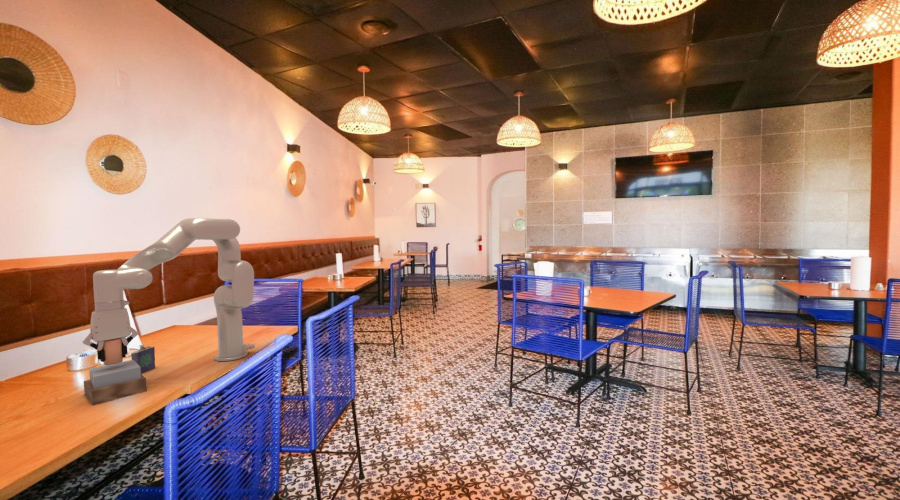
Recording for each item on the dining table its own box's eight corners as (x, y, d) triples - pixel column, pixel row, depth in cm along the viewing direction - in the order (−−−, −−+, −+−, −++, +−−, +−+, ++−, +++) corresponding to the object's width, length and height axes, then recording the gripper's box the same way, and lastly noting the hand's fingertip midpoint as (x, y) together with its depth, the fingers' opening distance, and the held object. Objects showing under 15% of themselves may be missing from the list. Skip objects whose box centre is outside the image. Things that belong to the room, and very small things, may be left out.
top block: (134, 370, 144) (133, 359, 143) (140, 378, 136) (140, 367, 135) (90, 379, 135) (89, 368, 135) (94, 389, 127) (93, 377, 127)
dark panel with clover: (136, 376, 151) (134, 348, 150) (129, 375, 151) (127, 348, 150) (157, 367, 160) (155, 341, 159) (151, 367, 160) (149, 341, 160)
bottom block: (135, 382, 145) (135, 369, 145) (146, 392, 136) (145, 378, 136) (84, 395, 134) (83, 381, 134) (92, 406, 125) (91, 391, 125)
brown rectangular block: (120, 359, 138) (119, 336, 138) (124, 362, 135) (123, 339, 135) (102, 363, 134) (100, 340, 134) (105, 366, 131) (103, 342, 131)
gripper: (137, 301, 143) (140, 350, 144) (73, 309, 130) (77, 363, 131) (143, 303, 138) (146, 354, 139) (77, 311, 125) (81, 368, 126)
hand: (113, 358), depth 135 cm, fingers closed on brown rectangular block, 4 cm apart
